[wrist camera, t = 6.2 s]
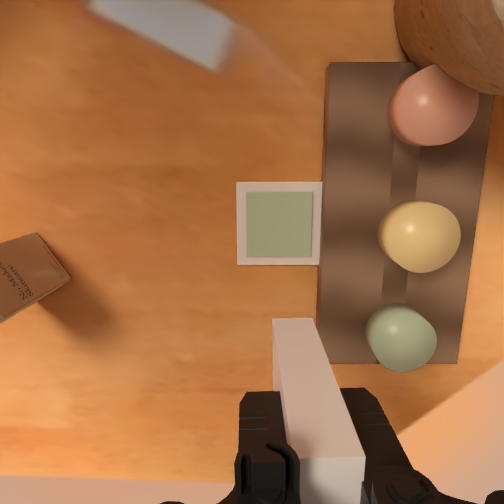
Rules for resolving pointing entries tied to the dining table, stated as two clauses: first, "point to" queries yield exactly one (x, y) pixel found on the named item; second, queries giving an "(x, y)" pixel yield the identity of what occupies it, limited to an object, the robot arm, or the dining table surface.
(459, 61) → the potted plant
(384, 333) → the button green
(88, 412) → the dining table surface
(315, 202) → the swatch
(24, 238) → the box
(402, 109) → the button terracotta
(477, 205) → the board
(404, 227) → the button ochre
